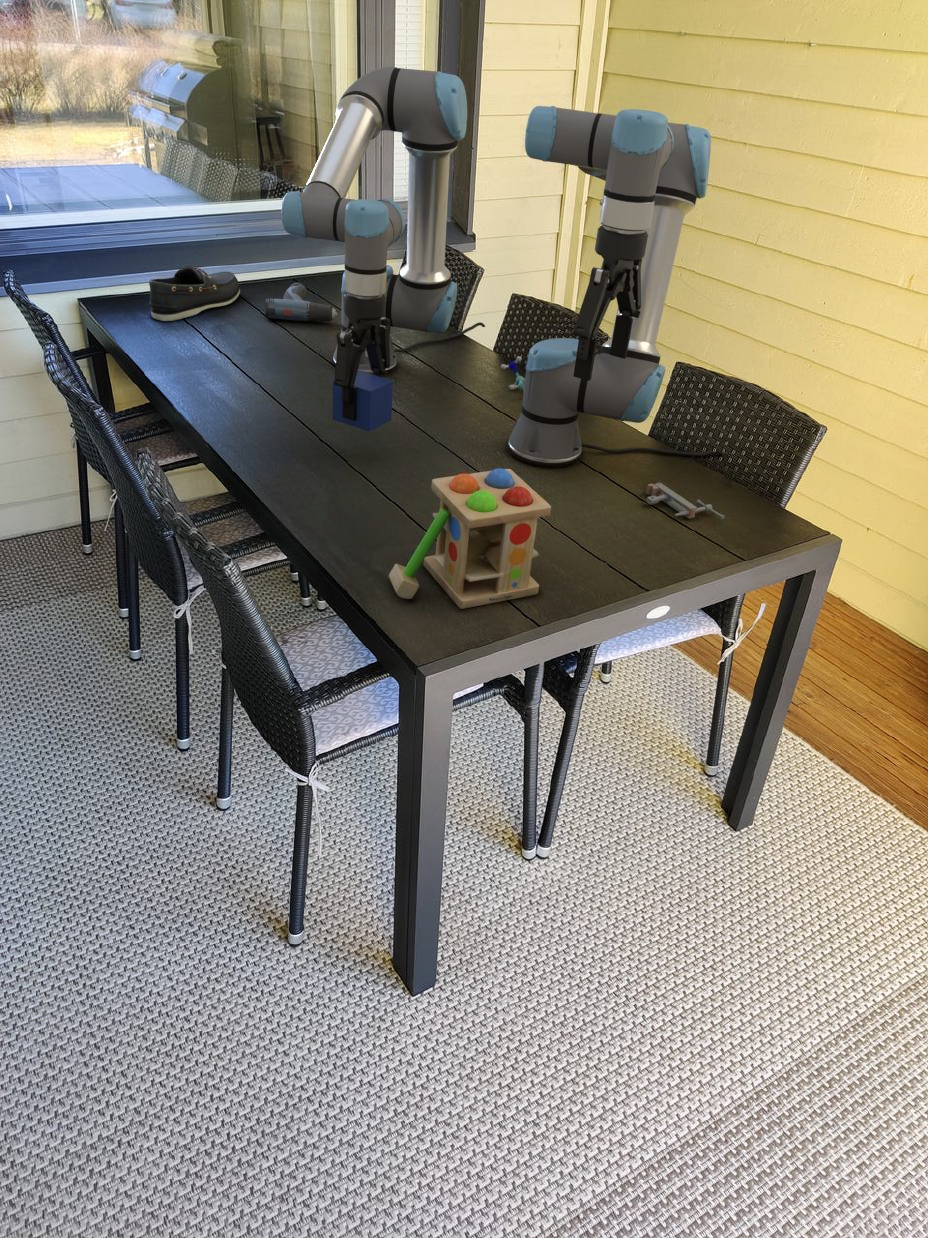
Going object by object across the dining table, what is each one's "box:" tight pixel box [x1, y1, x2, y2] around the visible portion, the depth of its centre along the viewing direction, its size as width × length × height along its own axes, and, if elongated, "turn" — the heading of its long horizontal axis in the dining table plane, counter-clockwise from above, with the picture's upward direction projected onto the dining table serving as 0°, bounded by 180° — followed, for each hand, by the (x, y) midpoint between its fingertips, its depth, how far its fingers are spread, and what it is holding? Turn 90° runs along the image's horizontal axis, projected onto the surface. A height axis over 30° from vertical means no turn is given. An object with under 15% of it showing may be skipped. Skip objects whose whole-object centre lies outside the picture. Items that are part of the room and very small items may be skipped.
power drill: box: [264, 282, 338, 322], centre depth 265 cm, size 5×19×20 cm
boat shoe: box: [148, 265, 241, 322], centre depth 262 cm, size 13×33×10 cm, turn 147°
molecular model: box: [500, 355, 525, 394], centre depth 230 cm, size 12×10×10 cm
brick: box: [332, 370, 394, 433], centre depth 189 cm, size 7×9×8 cm
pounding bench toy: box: [388, 468, 552, 610], centre depth 154 cm, size 23×14×18 cm, turn 116°
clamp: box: [645, 482, 726, 521], centre depth 187 cm, size 15×2×10 cm
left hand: (361, 411), depth 190 cm, fingers closed on brick, 7 cm apart
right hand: (600, 367), depth 157 cm, fingers open, 13 cm apart
